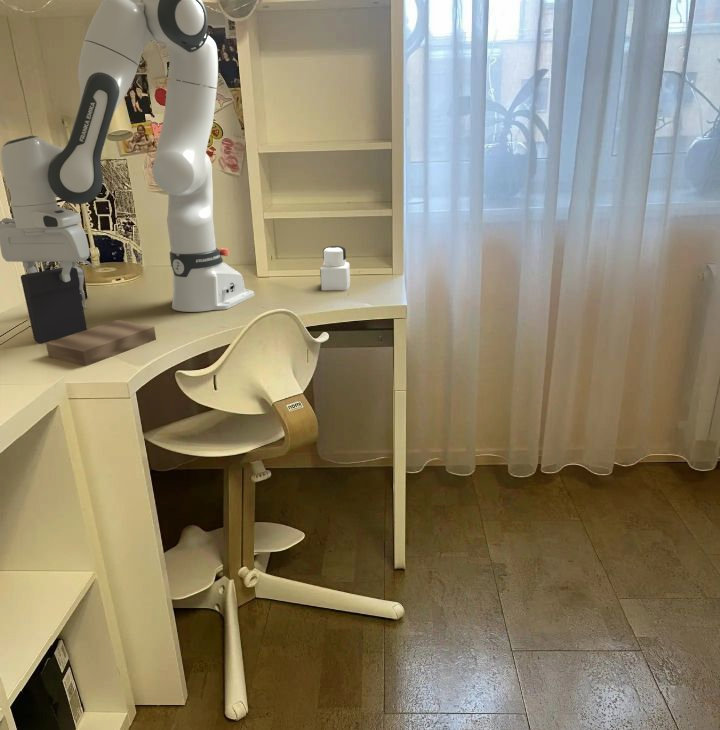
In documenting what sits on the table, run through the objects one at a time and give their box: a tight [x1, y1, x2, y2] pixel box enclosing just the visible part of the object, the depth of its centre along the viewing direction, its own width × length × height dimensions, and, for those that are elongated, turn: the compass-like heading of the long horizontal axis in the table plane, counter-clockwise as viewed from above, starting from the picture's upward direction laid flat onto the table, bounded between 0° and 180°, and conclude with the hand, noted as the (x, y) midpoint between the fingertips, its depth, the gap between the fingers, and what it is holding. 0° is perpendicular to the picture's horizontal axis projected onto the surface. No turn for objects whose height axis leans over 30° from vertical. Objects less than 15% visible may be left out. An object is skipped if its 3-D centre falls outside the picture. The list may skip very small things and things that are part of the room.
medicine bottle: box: [319, 245, 351, 291], centre depth 178 cm, size 7×7×12 cm
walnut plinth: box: [45, 319, 157, 367], centre depth 140 cm, size 18×12×3 cm, turn 149°
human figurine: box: [58, 260, 100, 310], centre depth 167 cm, size 12×4×18 cm, turn 139°
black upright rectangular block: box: [20, 267, 88, 344], centre depth 147 cm, size 11×4×15 cm, turn 138°
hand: (51, 281), depth 145 cm, fingers open, 6 cm apart
